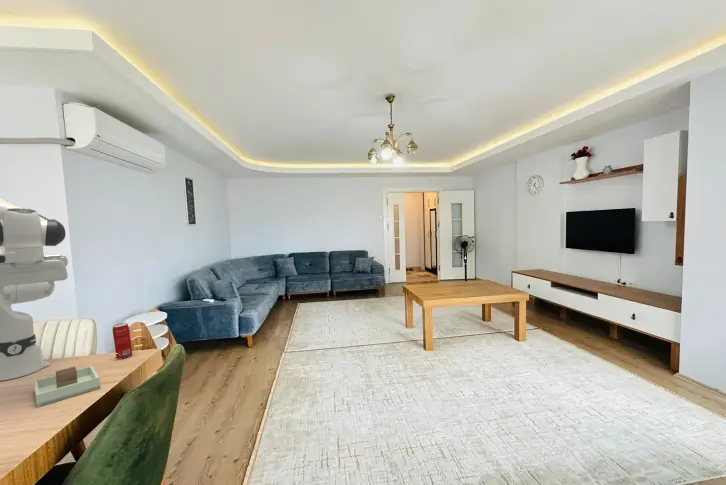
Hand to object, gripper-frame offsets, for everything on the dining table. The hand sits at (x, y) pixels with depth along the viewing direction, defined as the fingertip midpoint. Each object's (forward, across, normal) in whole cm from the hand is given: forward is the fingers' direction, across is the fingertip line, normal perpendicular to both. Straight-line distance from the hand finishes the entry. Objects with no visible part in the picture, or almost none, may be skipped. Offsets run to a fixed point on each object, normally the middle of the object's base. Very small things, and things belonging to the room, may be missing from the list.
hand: (27, 297), depth 107 cm
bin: (+34, -8, +4) cm, 35 cm away
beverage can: (+34, -28, -17) cm, 47 cm away
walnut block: (+33, -8, +4) cm, 34 cm away
